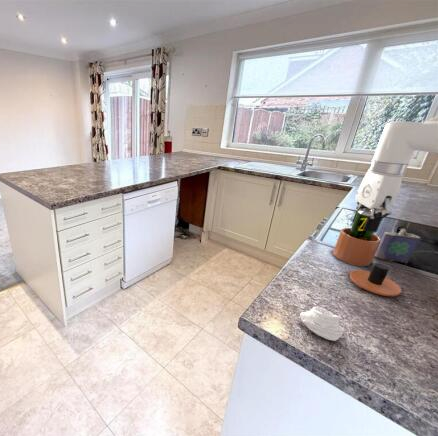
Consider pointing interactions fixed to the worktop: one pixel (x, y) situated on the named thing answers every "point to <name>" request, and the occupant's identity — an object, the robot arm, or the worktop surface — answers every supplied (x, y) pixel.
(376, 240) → the pot
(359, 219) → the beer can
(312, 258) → the worktop surface
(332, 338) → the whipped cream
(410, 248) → the flask
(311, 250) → the worktop surface
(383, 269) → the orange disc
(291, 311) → the worktop surface
